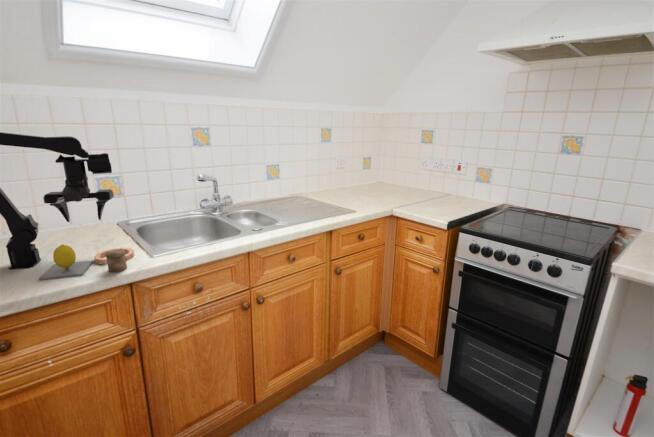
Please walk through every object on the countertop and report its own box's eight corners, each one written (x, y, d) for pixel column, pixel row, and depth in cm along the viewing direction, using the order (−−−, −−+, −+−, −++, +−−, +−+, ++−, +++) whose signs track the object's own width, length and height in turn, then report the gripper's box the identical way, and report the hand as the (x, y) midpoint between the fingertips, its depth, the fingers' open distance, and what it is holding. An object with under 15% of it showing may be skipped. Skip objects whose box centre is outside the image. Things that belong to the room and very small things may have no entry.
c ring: (91, 265, 113) (90, 261, 113) (100, 253, 124) (99, 249, 123) (130, 261, 117) (130, 257, 117) (136, 250, 127) (135, 246, 127)
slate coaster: (39, 280, 103) (38, 278, 103) (53, 265, 113) (53, 264, 113) (82, 275, 107) (82, 273, 106) (93, 261, 117) (92, 260, 116)
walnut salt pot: (106, 273, 108) (103, 256, 106) (110, 267, 113) (107, 250, 111) (125, 271, 110) (123, 254, 108) (129, 265, 115) (126, 248, 113)
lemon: (81, 265, 112) (77, 241, 110) (70, 272, 107) (65, 247, 105) (64, 265, 112) (59, 241, 110) (51, 272, 107) (46, 247, 105)
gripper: (31, 180, 106) (42, 229, 110) (102, 178, 112) (109, 224, 116) (46, 175, 116) (55, 220, 120) (110, 173, 122) (117, 216, 126)
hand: (84, 220), depth 121 cm, fingers open, 9 cm apart
